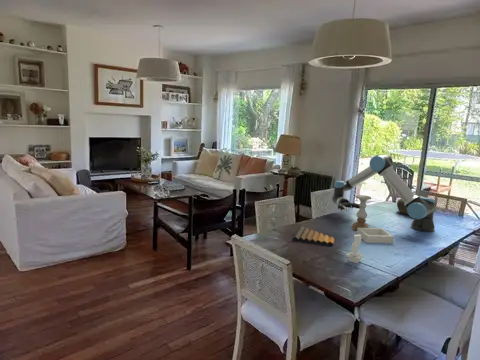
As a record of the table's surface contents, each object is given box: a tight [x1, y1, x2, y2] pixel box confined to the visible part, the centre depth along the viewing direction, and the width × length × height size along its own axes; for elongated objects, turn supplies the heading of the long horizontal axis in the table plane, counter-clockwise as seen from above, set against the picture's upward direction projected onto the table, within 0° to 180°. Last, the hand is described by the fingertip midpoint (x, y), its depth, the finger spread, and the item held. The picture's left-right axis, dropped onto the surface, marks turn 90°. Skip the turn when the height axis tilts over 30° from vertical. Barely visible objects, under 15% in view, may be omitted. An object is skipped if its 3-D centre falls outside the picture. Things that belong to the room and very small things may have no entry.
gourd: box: [396, 195, 424, 215], centre depth 295 cm, size 25×25×17 cm
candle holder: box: [351, 194, 372, 232], centre depth 247 cm, size 11×11×24 cm
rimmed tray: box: [356, 227, 395, 244], centre depth 230 cm, size 17×17×4 cm
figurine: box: [346, 234, 365, 264], centre depth 190 cm, size 7×9×15 cm
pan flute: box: [292, 225, 335, 247], centre depth 229 cm, size 25×3×25 cm
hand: (355, 209), depth 256 cm, fingers open, 13 cm apart
